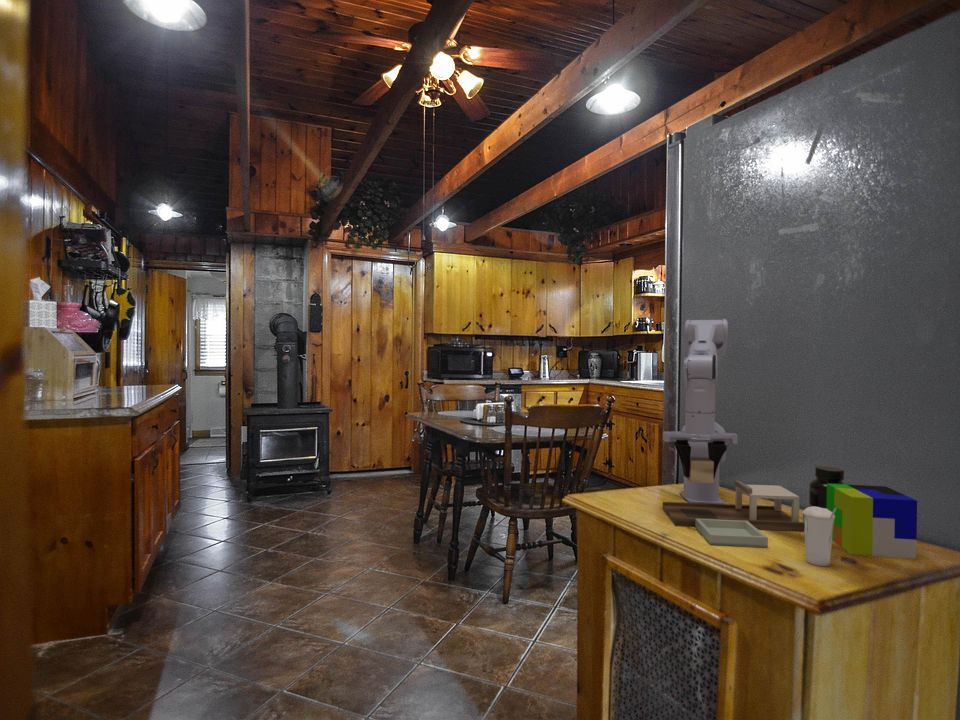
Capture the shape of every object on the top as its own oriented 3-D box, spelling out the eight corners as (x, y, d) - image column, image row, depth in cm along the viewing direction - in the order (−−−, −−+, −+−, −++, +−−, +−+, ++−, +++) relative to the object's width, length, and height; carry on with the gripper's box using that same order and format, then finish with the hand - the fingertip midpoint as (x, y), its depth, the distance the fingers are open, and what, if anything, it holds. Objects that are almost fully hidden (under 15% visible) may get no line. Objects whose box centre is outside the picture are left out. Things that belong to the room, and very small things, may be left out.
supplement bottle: (803, 528, 108) (804, 468, 108) (813, 520, 113) (813, 463, 113) (844, 536, 103) (845, 473, 103) (852, 528, 108) (853, 468, 108)
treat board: (662, 508, 121) (662, 501, 121) (779, 513, 118) (779, 506, 118) (675, 525, 109) (675, 517, 109) (805, 531, 106) (805, 523, 106)
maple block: (685, 477, 116) (685, 456, 116) (706, 478, 116) (707, 457, 116) (691, 482, 112) (691, 461, 112) (713, 483, 111) (713, 461, 111)
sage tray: (695, 527, 108) (695, 518, 108) (747, 529, 107) (747, 520, 107) (710, 544, 98) (710, 535, 98) (767, 547, 97) (767, 537, 97)
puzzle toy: (916, 559, 92) (917, 500, 92) (850, 554, 94) (851, 497, 94) (885, 539, 102) (885, 486, 102) (826, 535, 104) (826, 483, 104)
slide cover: (732, 507, 118) (733, 479, 118) (779, 509, 117) (779, 481, 116) (748, 520, 109) (749, 489, 109) (798, 522, 108) (799, 491, 108)
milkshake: (823, 571, 87) (824, 508, 86) (795, 559, 92) (796, 499, 92) (845, 568, 88) (846, 506, 88) (816, 556, 93) (817, 498, 93)
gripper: (668, 413, 111) (667, 479, 111) (743, 414, 109) (742, 482, 109) (661, 409, 118) (660, 472, 118) (731, 411, 116) (730, 474, 116)
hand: (699, 476), depth 114 cm, fingers closed on maple block, 4 cm apart
